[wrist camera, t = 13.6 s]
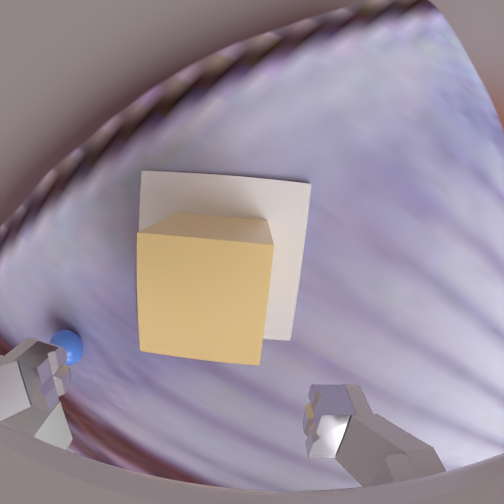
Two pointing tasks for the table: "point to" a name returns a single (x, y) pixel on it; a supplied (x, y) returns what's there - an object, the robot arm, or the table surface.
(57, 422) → the matte white cube
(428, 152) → the table surface
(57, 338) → the marble
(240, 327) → the tan cube
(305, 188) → the grey mat
